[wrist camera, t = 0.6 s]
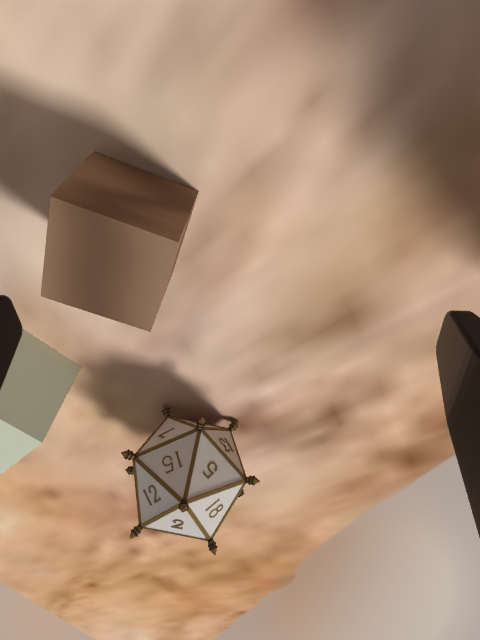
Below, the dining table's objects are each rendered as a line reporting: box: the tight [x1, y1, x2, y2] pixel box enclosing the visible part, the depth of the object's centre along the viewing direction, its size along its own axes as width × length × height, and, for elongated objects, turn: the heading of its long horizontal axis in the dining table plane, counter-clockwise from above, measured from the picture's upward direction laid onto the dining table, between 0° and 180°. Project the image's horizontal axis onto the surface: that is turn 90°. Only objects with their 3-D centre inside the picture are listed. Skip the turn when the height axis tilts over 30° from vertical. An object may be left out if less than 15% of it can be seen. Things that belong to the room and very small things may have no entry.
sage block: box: [0, 329, 81, 473], centre depth 28 cm, size 5×5×6 cm
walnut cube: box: [41, 152, 199, 332], centre depth 21 cm, size 5×5×5 cm
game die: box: [121, 405, 260, 555], centre depth 30 cm, size 9×8×10 cm
